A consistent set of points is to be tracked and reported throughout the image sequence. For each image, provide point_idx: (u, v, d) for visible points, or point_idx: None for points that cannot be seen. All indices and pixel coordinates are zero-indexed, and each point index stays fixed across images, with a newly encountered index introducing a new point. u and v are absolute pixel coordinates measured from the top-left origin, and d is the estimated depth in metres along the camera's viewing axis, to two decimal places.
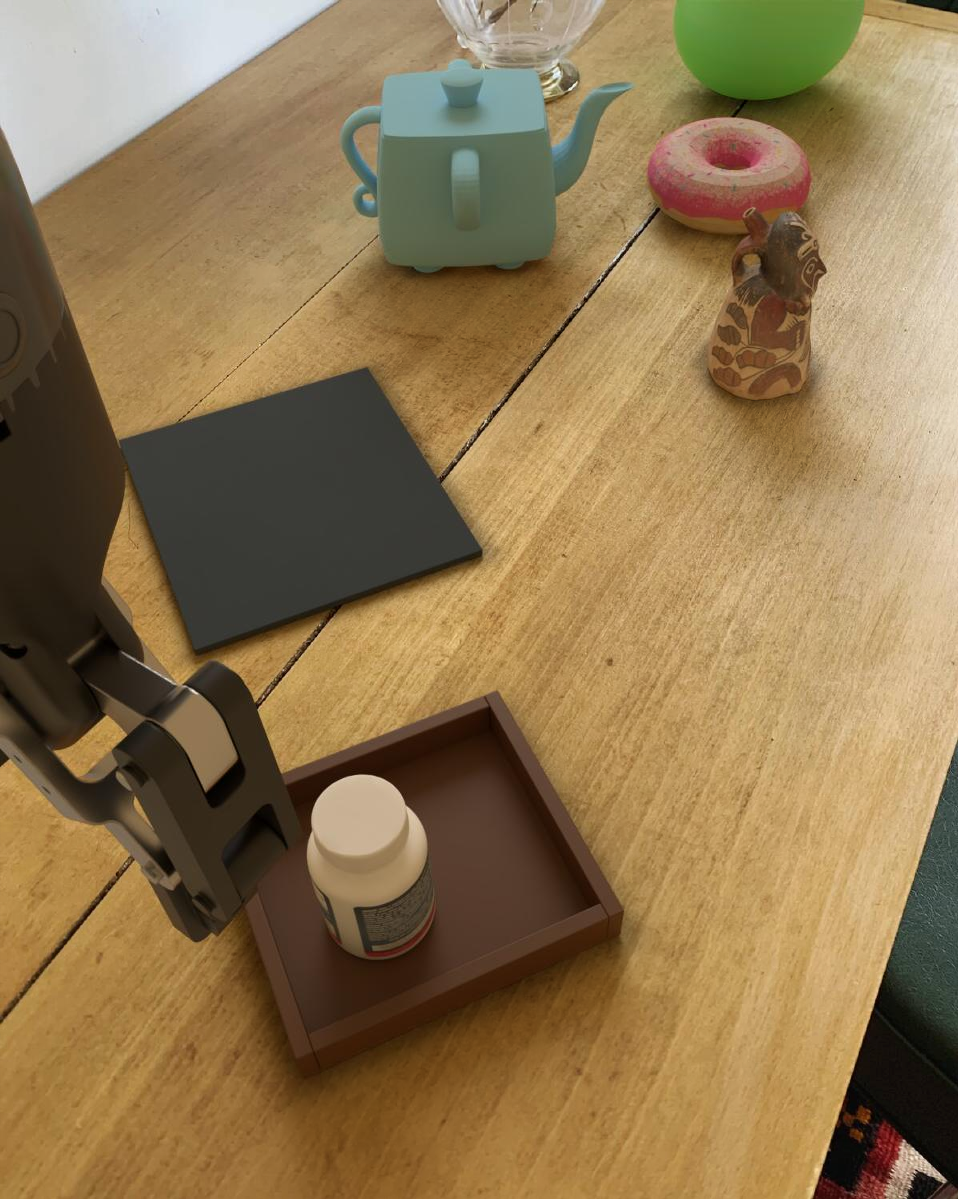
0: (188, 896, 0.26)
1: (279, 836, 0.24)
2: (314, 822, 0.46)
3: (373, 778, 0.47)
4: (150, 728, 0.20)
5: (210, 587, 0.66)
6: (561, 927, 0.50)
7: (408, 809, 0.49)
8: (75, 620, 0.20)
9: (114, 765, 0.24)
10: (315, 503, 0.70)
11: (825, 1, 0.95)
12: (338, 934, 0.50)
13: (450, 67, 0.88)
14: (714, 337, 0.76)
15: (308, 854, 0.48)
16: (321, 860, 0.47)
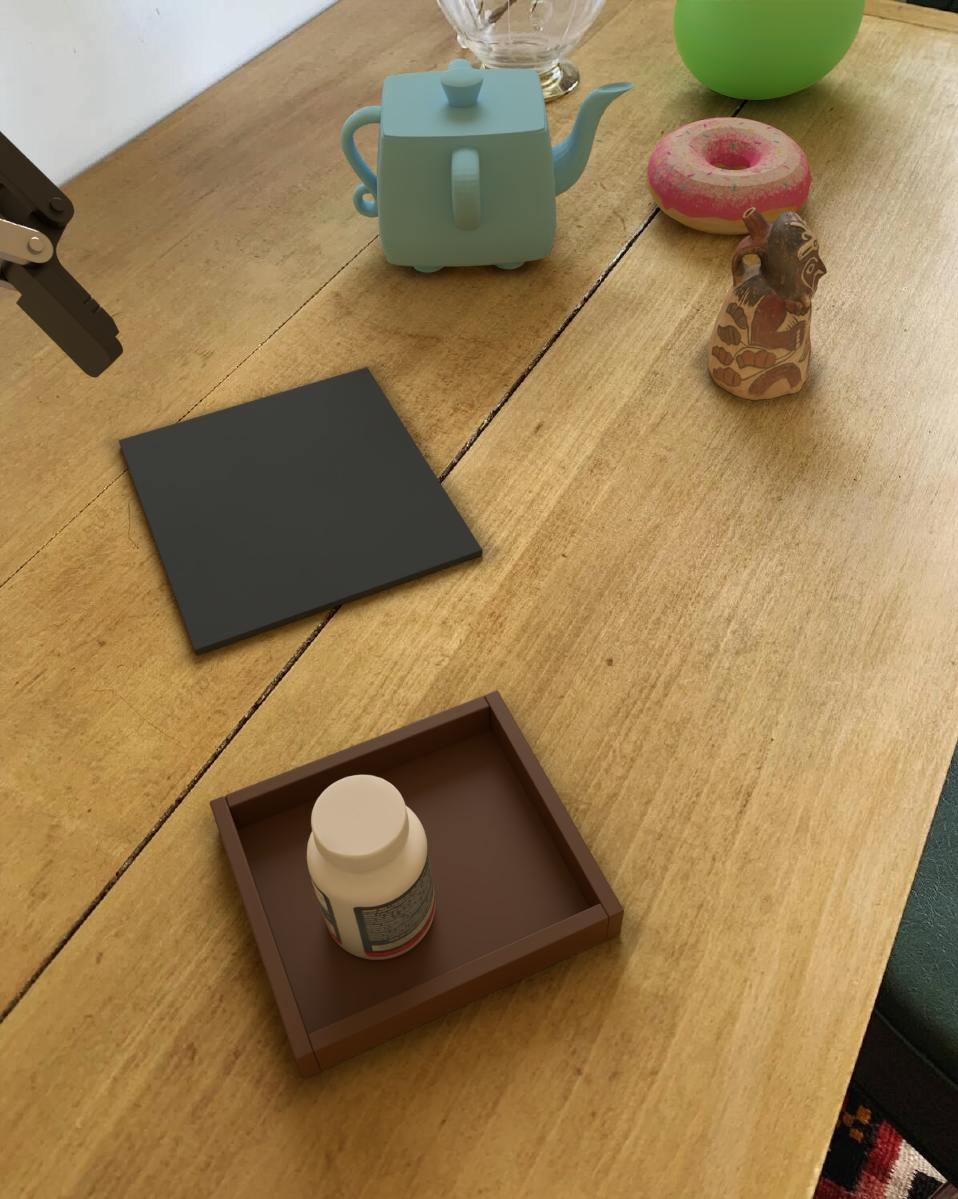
0: None
1: None
2: (314, 822, 0.46)
3: (373, 778, 0.47)
4: None
5: (210, 587, 0.66)
6: (561, 927, 0.50)
7: (408, 809, 0.49)
8: None
9: None
10: (315, 503, 0.70)
11: (825, 1, 0.95)
12: (338, 934, 0.50)
13: (450, 67, 0.88)
14: (714, 337, 0.76)
15: (308, 854, 0.48)
16: (321, 860, 0.47)
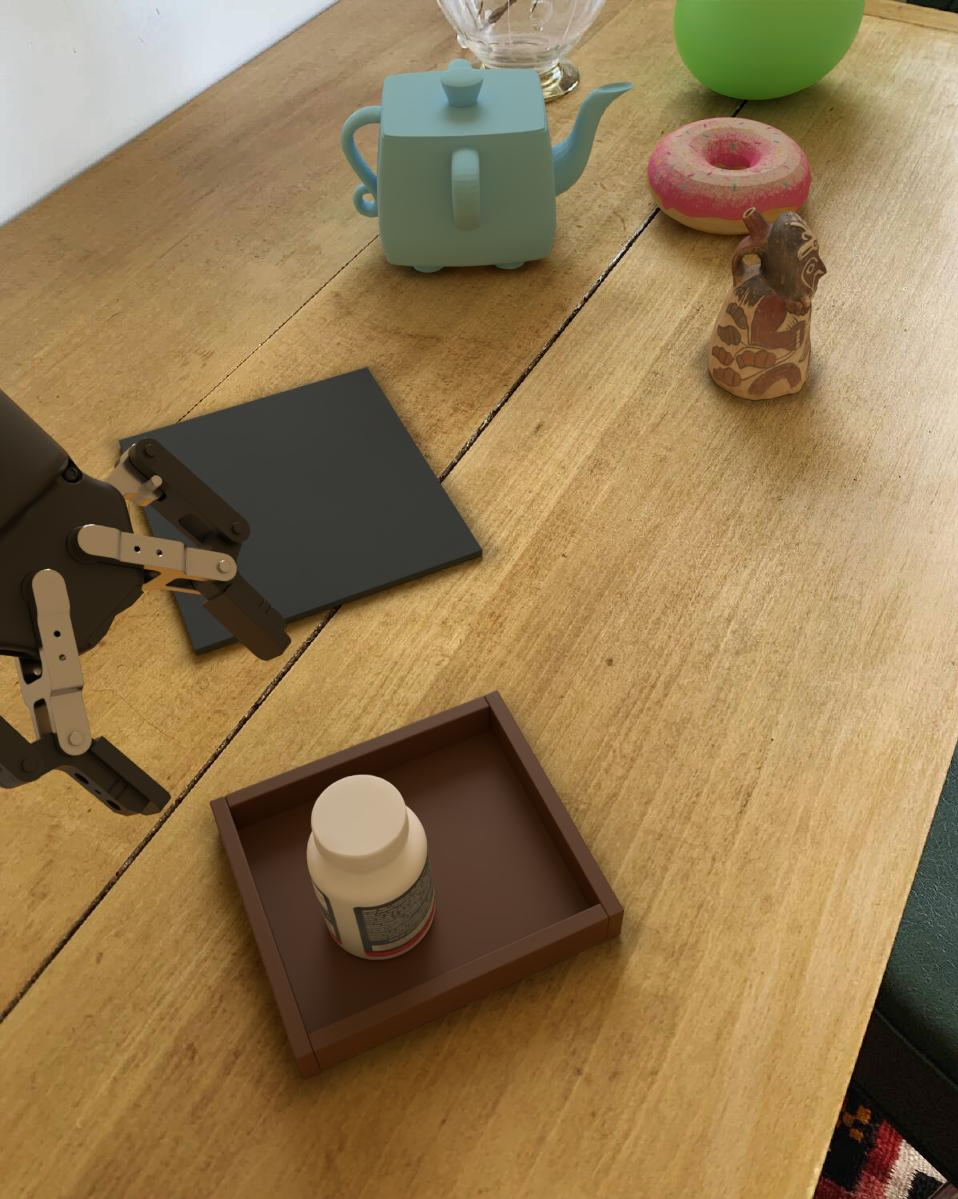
0: None
1: None
2: (314, 822, 0.46)
3: (373, 778, 0.47)
4: (132, 446, 0.46)
5: None
6: (561, 927, 0.50)
7: (408, 809, 0.49)
8: None
9: None
10: (315, 503, 0.70)
11: (825, 1, 0.95)
12: (338, 934, 0.50)
13: (450, 67, 0.88)
14: (714, 337, 0.76)
15: (308, 854, 0.48)
16: (321, 860, 0.47)
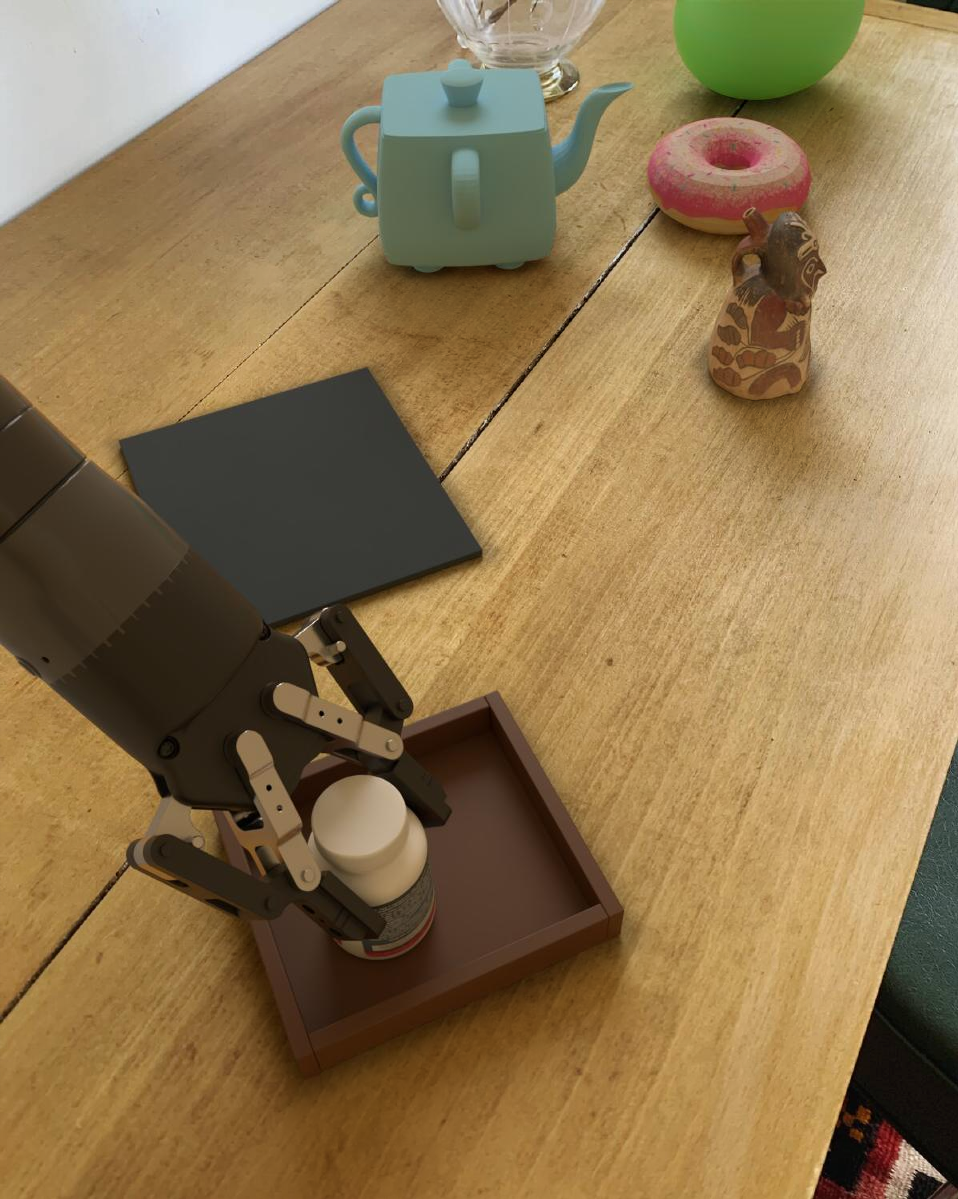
0: None
1: None
2: (314, 822, 0.46)
3: (373, 779, 0.47)
4: (325, 609, 0.48)
5: None
6: (561, 927, 0.50)
7: (408, 809, 0.49)
8: None
9: None
10: (315, 503, 0.70)
11: (825, 1, 0.95)
12: None
13: (450, 67, 0.88)
14: (714, 337, 0.76)
15: None
16: (321, 860, 0.47)
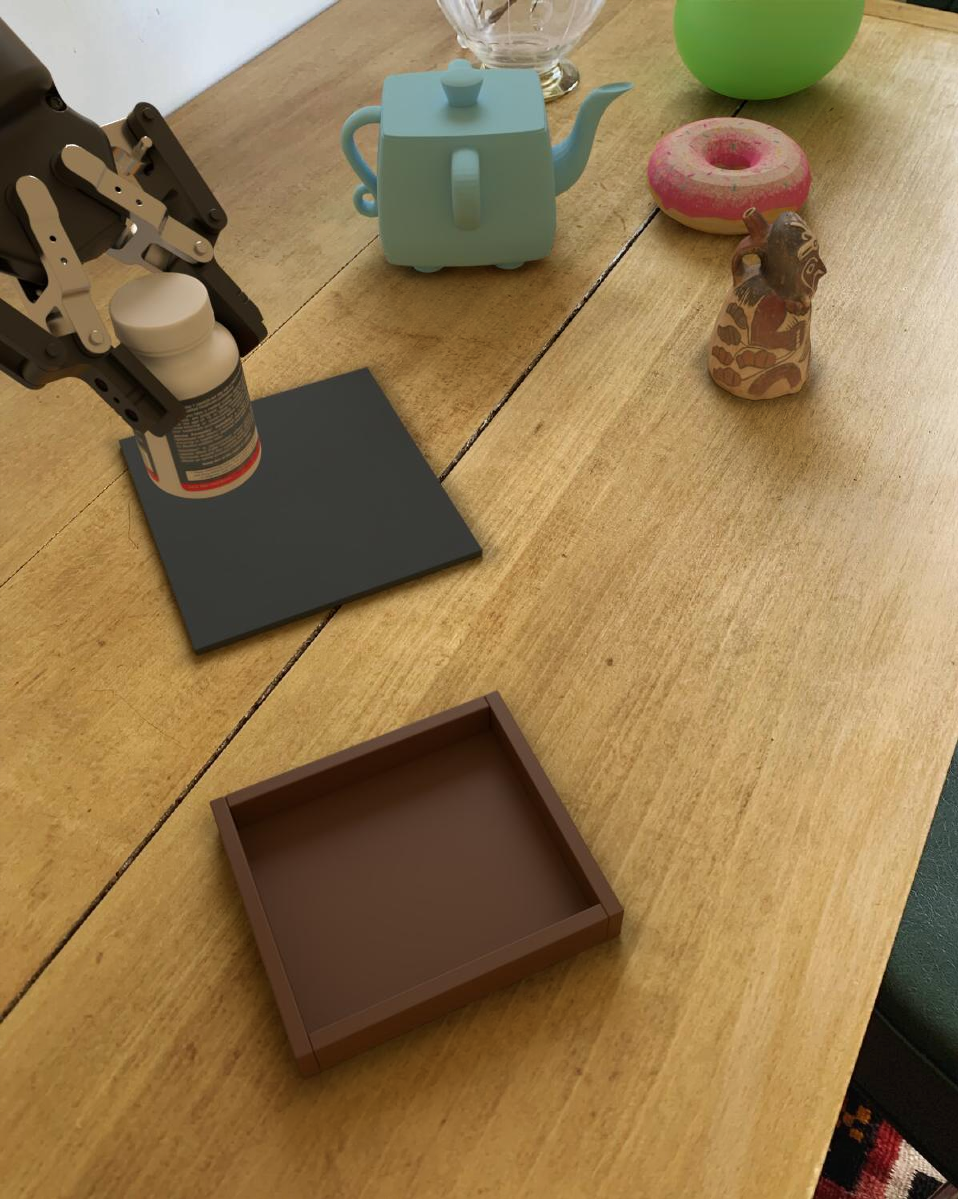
0: None
1: None
2: (111, 304, 0.44)
3: (178, 274, 0.46)
4: None
5: (210, 587, 0.66)
6: (561, 927, 0.50)
7: (220, 324, 0.48)
8: None
9: None
10: (315, 503, 0.70)
11: (825, 1, 0.95)
12: (153, 463, 0.49)
13: (450, 67, 0.88)
14: (714, 337, 0.76)
15: None
16: None
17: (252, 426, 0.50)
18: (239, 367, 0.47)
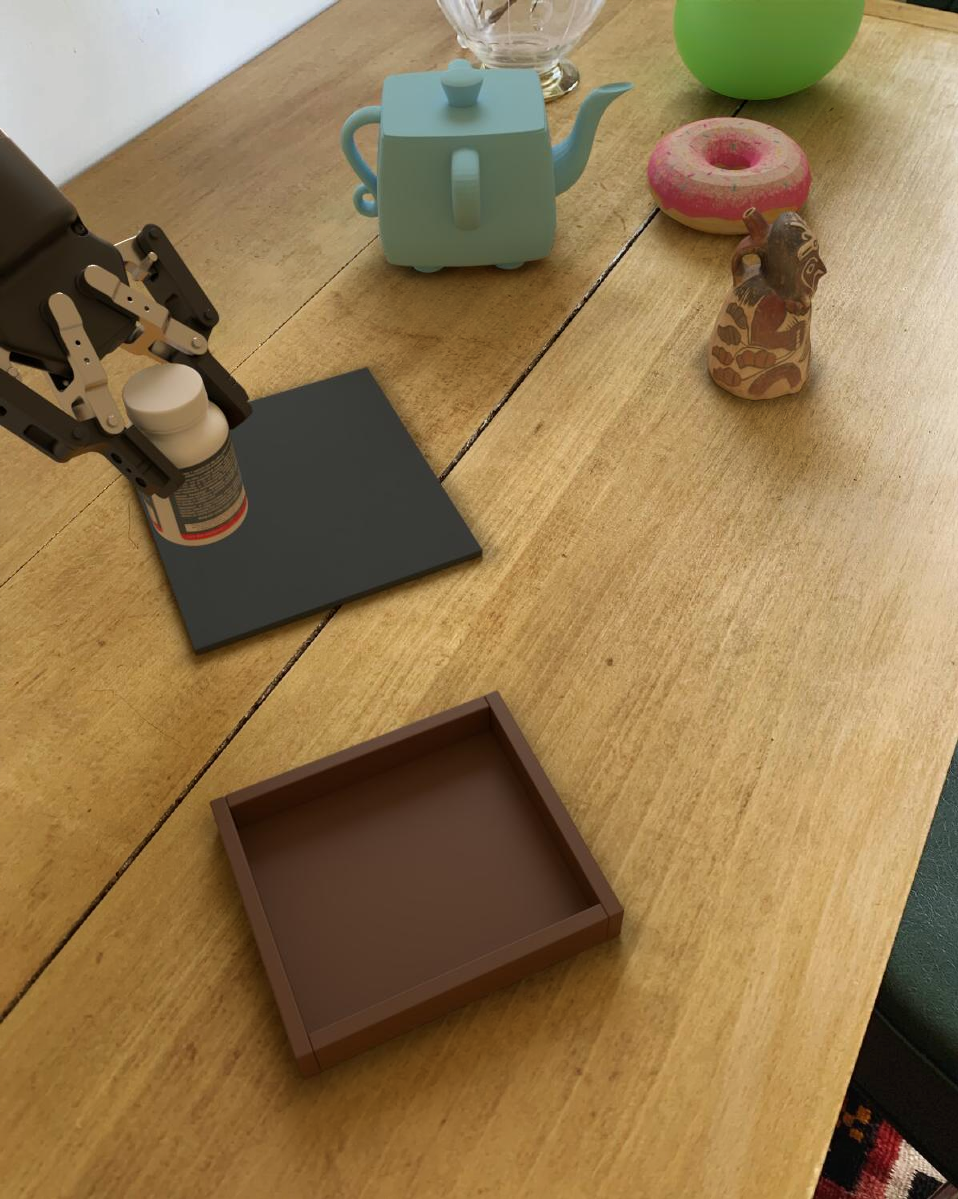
0: None
1: None
2: (124, 391, 0.55)
3: (178, 365, 0.56)
4: None
5: (210, 587, 0.66)
6: (561, 927, 0.50)
7: (213, 403, 0.58)
8: None
9: None
10: (315, 503, 0.70)
11: (825, 1, 0.95)
12: (157, 517, 0.59)
13: (450, 67, 0.88)
14: (714, 337, 0.76)
15: None
16: None
17: (240, 486, 0.60)
18: (229, 439, 0.57)
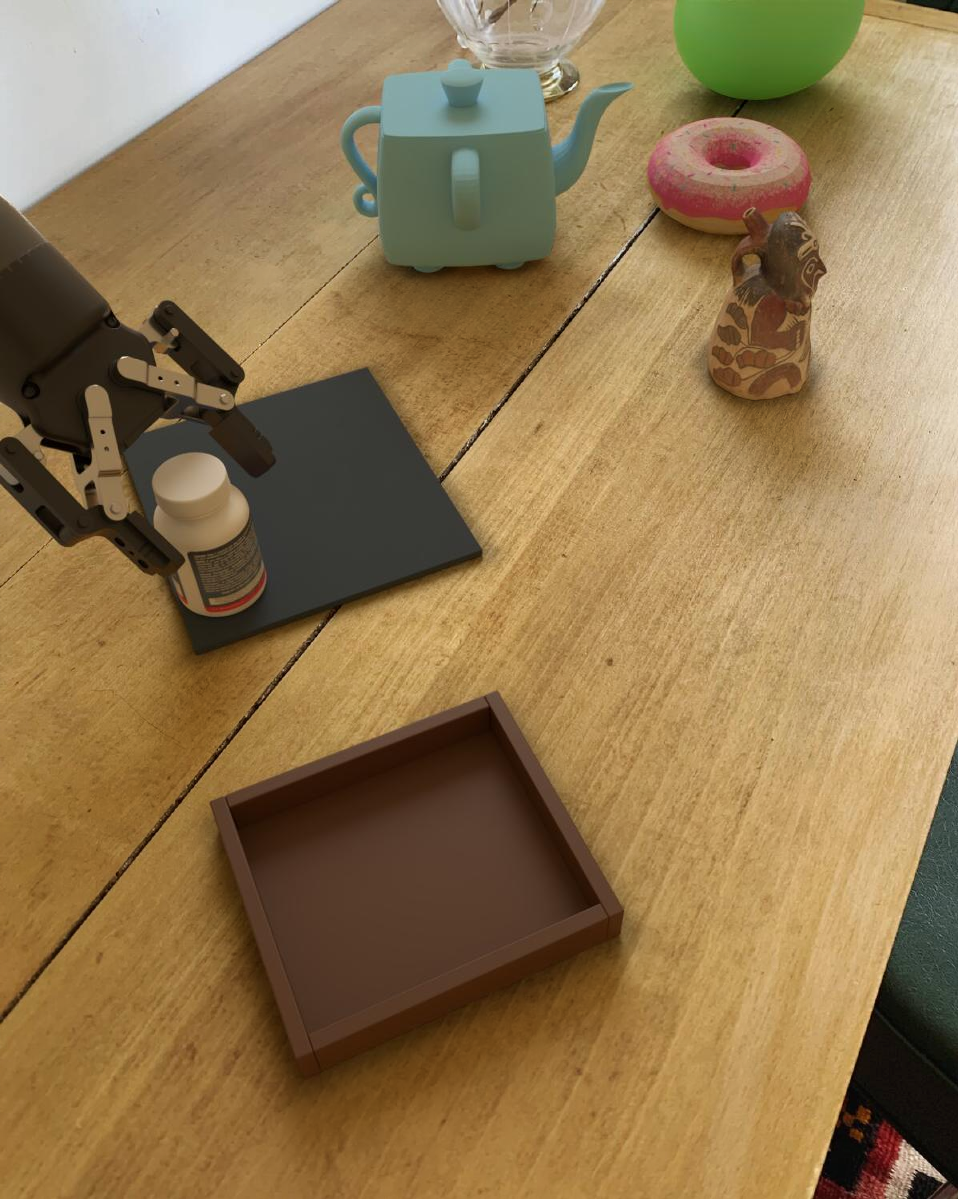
0: None
1: None
2: (154, 481, 0.59)
3: (203, 454, 0.61)
4: None
5: None
6: (561, 927, 0.50)
7: (235, 487, 0.62)
8: None
9: None
10: (315, 503, 0.70)
11: (825, 1, 0.95)
12: (183, 592, 0.63)
13: (450, 67, 0.88)
14: (714, 337, 0.76)
15: (154, 516, 0.61)
16: (162, 517, 0.60)
17: (259, 561, 0.64)
18: (249, 521, 0.62)
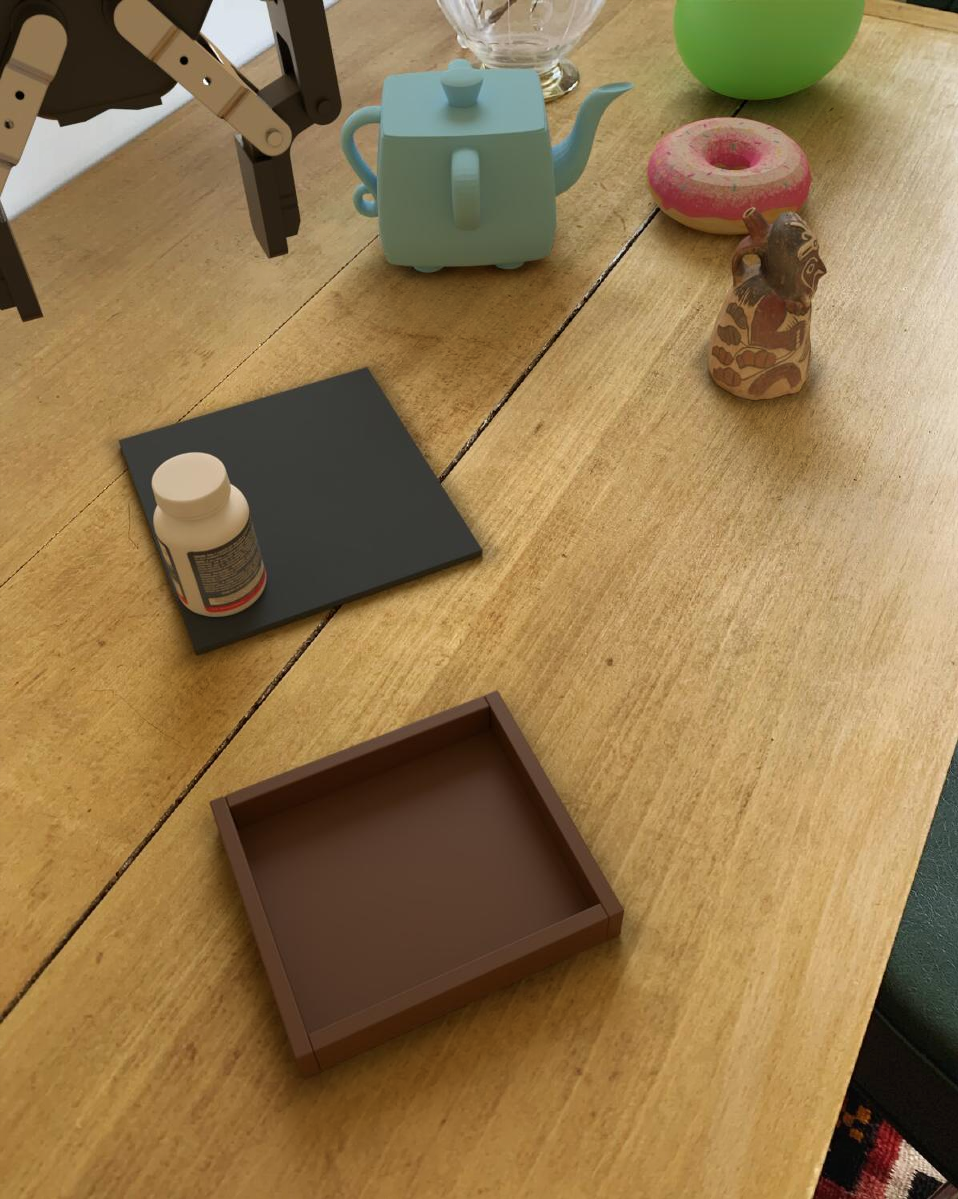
0: None
1: None
2: (153, 481, 0.59)
3: (203, 454, 0.61)
4: None
5: None
6: (561, 927, 0.50)
7: (235, 487, 0.62)
8: None
9: None
10: (315, 503, 0.70)
11: (825, 1, 0.95)
12: (183, 592, 0.63)
13: (450, 67, 0.88)
14: (714, 337, 0.76)
15: (154, 516, 0.61)
16: (162, 517, 0.60)
17: (259, 561, 0.64)
18: (249, 521, 0.62)
